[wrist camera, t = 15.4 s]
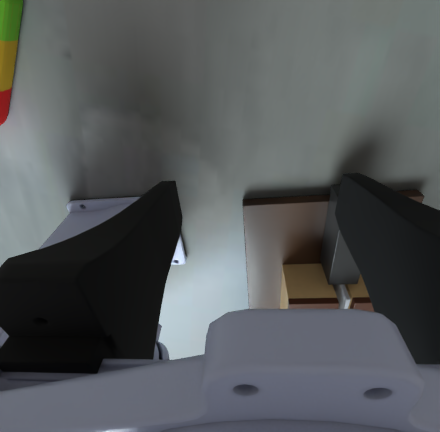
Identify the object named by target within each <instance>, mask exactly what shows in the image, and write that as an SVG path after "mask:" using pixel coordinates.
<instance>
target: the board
mask: <svg viewBox="0 0 440 432" xmlns="http://www.w3.org/2000/svg"><path fill="white" fill-rule="evenodd" d="M396 192H398V193H400V194H402V195H405V196H407V197H409V198H411V199H413V200H415V201H418V202H420V203H422V201H423V199H424V195H423V194H422V193H421V192H420V191H419V190H405V191H396ZM329 198H330V195H315V196H297V197H279V198H261V199H243V217H244V233H245V249H246V265H247V281H248V297H249V309H280V302H281V280H282V265H290V264H321V261H320V256H321V250H322V243H323V237H324V230H325V224H326V217H327V211H328V205H329Z"/></svg>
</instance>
